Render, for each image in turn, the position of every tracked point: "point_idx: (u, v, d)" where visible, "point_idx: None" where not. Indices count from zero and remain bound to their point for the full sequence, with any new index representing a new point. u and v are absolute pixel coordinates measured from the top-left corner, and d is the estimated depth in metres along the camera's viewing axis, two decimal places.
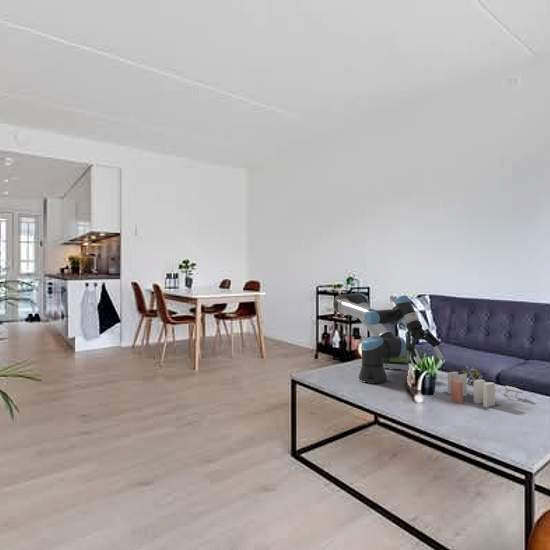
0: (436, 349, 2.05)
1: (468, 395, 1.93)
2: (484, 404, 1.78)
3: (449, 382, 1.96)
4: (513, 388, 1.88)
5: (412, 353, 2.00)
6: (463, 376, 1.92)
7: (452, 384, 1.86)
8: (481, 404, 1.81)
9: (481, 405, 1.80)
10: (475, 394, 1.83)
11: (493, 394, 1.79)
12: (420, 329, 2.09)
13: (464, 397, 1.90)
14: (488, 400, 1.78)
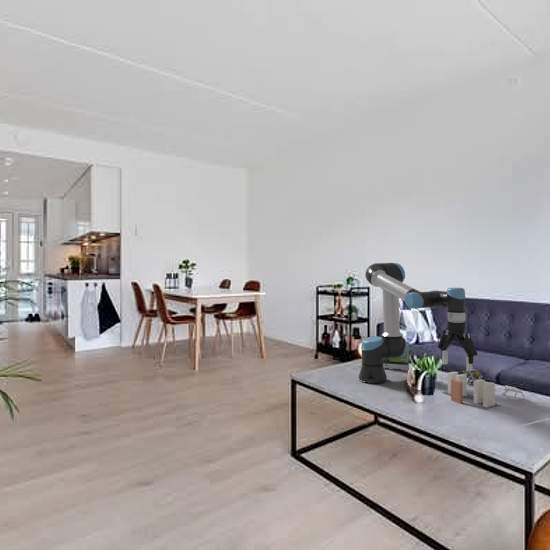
0: None
1: (468, 395, 1.93)
2: (484, 404, 1.78)
3: (449, 382, 1.96)
4: (512, 388, 1.88)
5: None
6: (463, 376, 1.92)
7: (452, 384, 1.86)
8: (481, 404, 1.81)
9: (481, 405, 1.80)
10: (475, 394, 1.83)
11: (493, 394, 1.79)
12: (458, 332, 1.82)
13: (464, 397, 1.90)
14: (488, 400, 1.78)
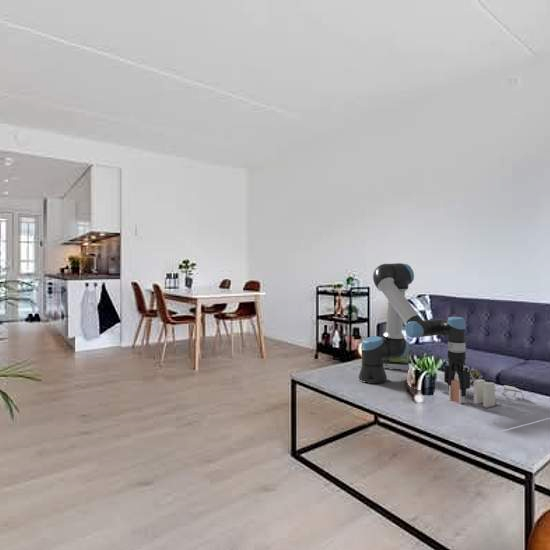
0: None
1: (468, 395, 1.93)
2: (484, 404, 1.78)
3: None
4: (512, 388, 1.89)
5: None
6: None
7: (452, 384, 1.86)
8: (481, 404, 1.81)
9: (481, 405, 1.80)
10: (475, 394, 1.83)
11: (493, 394, 1.79)
12: (459, 361, 1.82)
13: None
14: (488, 400, 1.78)
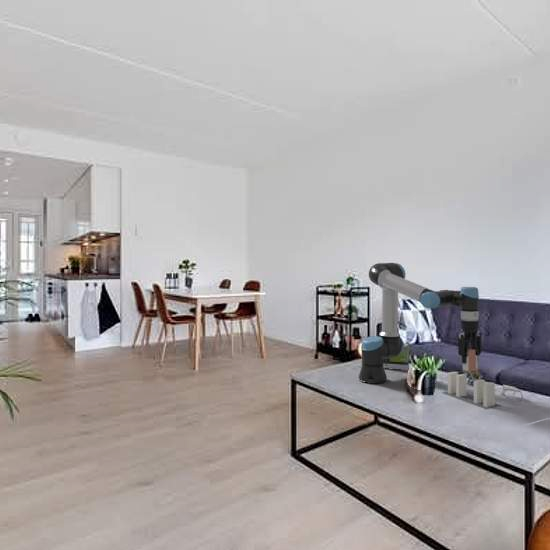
0: None
1: (468, 395, 1.93)
2: (484, 404, 1.78)
3: (449, 382, 1.96)
4: (511, 388, 1.89)
5: (462, 359, 1.86)
6: (463, 376, 1.92)
7: (469, 354, 1.86)
8: (481, 404, 1.81)
9: (481, 405, 1.80)
10: (475, 394, 1.83)
11: (493, 394, 1.79)
12: (475, 329, 1.87)
13: (464, 397, 1.90)
14: (488, 400, 1.78)
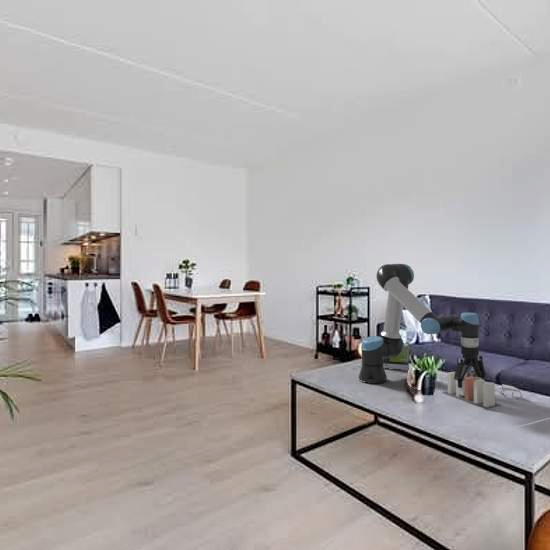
0: None
1: None
2: (484, 404, 1.78)
3: (449, 382, 1.96)
4: (510, 387, 1.90)
5: (458, 384, 1.85)
6: None
7: (469, 382, 1.87)
8: (481, 404, 1.81)
9: (481, 405, 1.80)
10: (475, 394, 1.83)
11: (493, 394, 1.79)
12: (475, 355, 1.88)
13: (464, 397, 1.90)
14: (488, 400, 1.78)
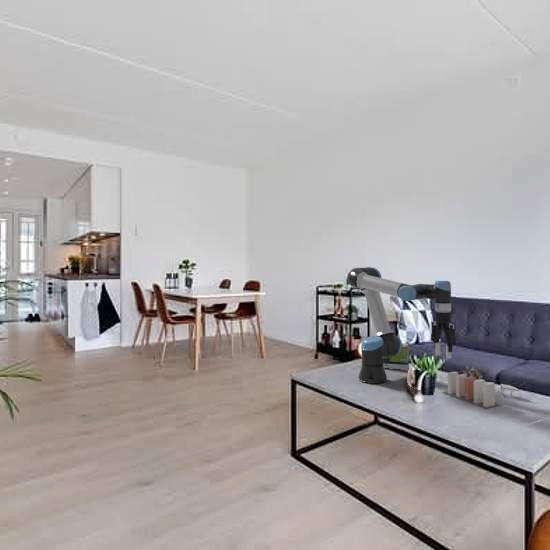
0: None
1: None
2: (484, 404, 1.78)
3: (449, 382, 1.96)
4: (509, 387, 1.91)
5: None
6: (463, 376, 1.92)
7: (469, 382, 1.87)
8: (481, 404, 1.81)
9: (481, 405, 1.80)
10: (475, 394, 1.83)
11: (493, 394, 1.79)
12: (445, 320, 1.99)
13: (464, 397, 1.90)
14: (488, 400, 1.78)
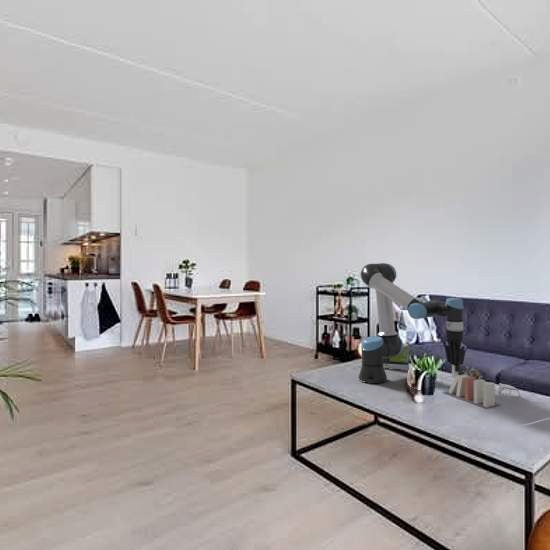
0: None
1: None
2: (484, 404, 1.78)
3: (453, 384, 1.94)
4: (507, 386, 1.92)
5: None
6: (466, 377, 1.90)
7: (469, 382, 1.87)
8: (481, 404, 1.81)
9: (481, 405, 1.80)
10: (475, 394, 1.83)
11: (493, 394, 1.79)
12: (458, 339, 1.92)
13: (464, 397, 1.90)
14: (488, 400, 1.78)
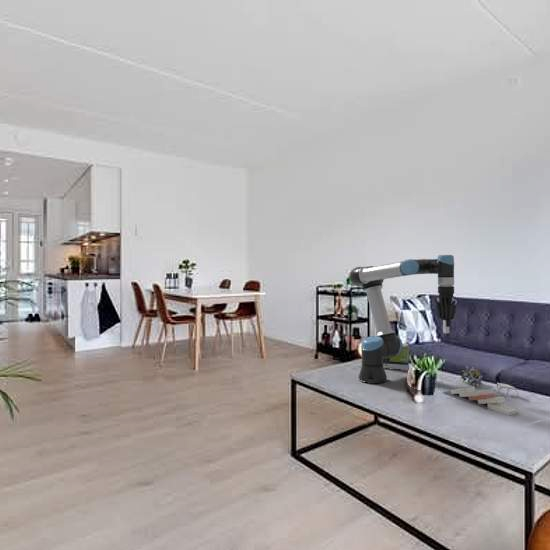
0: None
1: None
2: (489, 405, 1.76)
3: (459, 391, 1.91)
4: (505, 385, 1.93)
5: None
6: (480, 394, 1.84)
7: None
8: (481, 404, 1.81)
9: (481, 405, 1.80)
10: (485, 401, 1.78)
11: None
12: (449, 294, 1.97)
13: (464, 397, 1.90)
14: None
